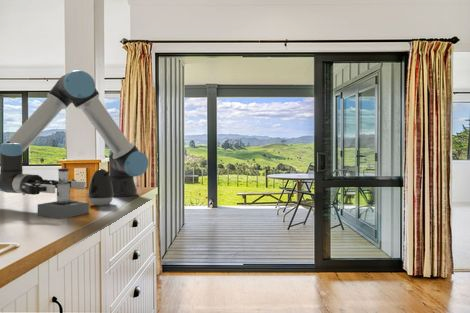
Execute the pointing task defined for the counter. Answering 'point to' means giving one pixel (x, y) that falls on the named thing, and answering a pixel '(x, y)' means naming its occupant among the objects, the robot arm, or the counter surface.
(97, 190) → the dark grey egg shape
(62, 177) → the tube
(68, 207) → the socket block
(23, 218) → the counter surface
